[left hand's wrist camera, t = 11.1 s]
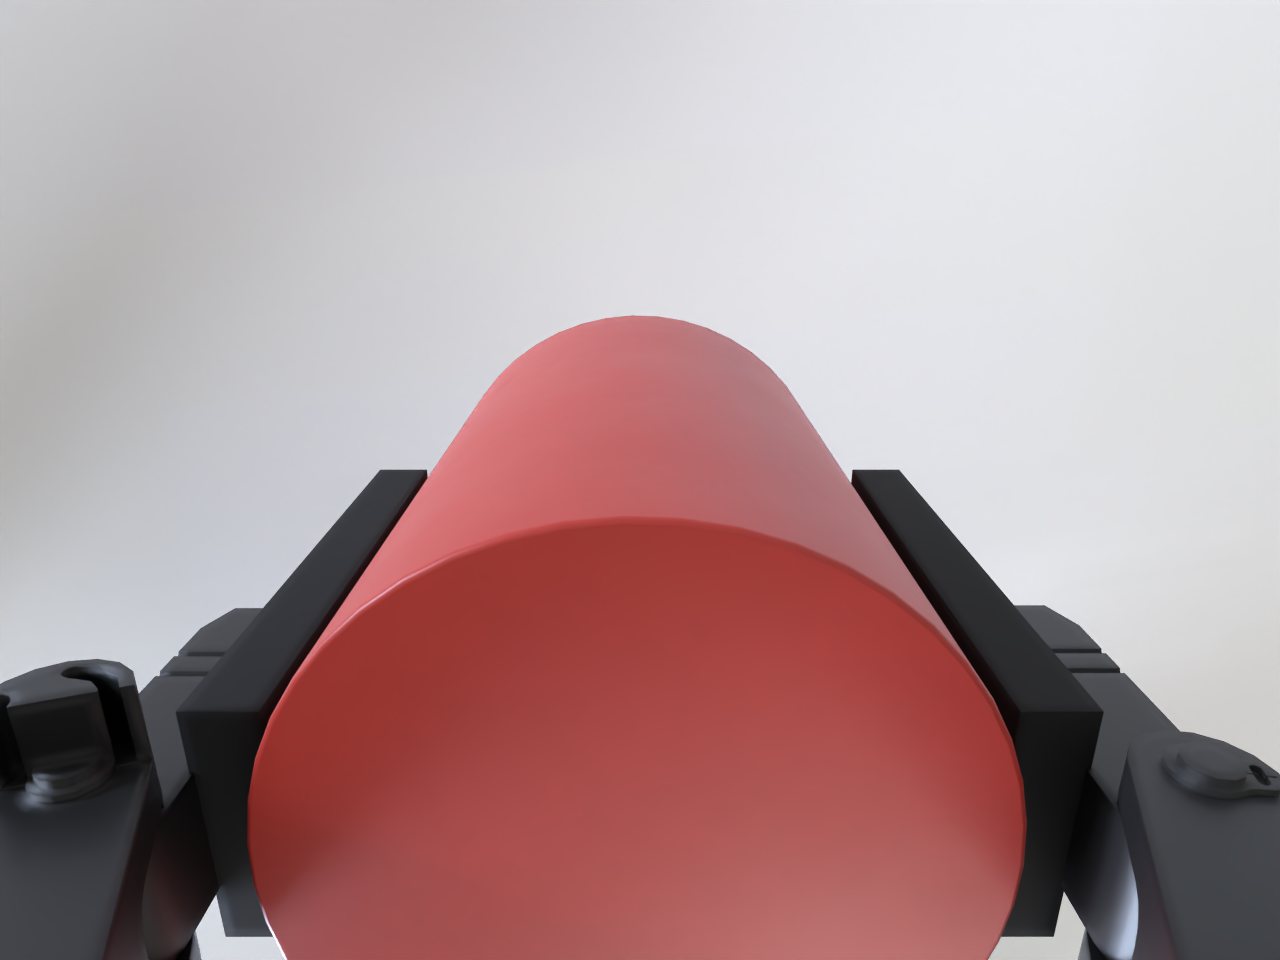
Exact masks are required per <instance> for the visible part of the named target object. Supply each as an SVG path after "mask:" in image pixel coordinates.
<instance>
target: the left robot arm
mask: <svg viewBox="0 0 1280 960" xmlns="http://www.w3.org/2000/svg"><path fill="white" fill-rule="evenodd" d="M427 478H428V477H427V470H380V471H379V472H378V473H377V475H376V476H375V477H374V478H373V479H372V480H371V482H370V483H369V484H368V485H367V486H366V487H365V489H364V490H363V491H362V492H361V493H360V495H359V496H358V497H357V498H356V499H355V500H354V502H353V503H352V504H351V505H350V506H349V508H348V509H347V510H346V511H345V512H344V513H343V515H342V516H341V517H340V518H339V519H338V520H337V522H336V523H335V524H334V525H333V526H332V528H331V529H330V530H329V531H328V532H327V533H326V535H325V536H324V537H323V538H322V539H321V541H320V542H319V543H318V544H317V545H316V546H315V548H314V549H313V550H312V551H311V552H310V554H309V555H308V556H307V557H306V558H305V559H304V561H303V562H302V563H301V564H300V565H299V566H298V568H297V569H296V570H295V571H294V572H293V574H292V575H291V576H290V577H289V578H288V579H287V581H286V582H285V583H284V584H283V585H282V587H281V588H280V589H279V590H278V591H277V592H276V594H275V595H274V596H273V597H272V598H271V599H270V601H269V602H268V603H267V604H266V605H265V607H264V608H235V609H233V610H232V611H230V612H228V613H227V614H225V615H223V616H221V617H220V618H218V619H216V620H214V621H213V622H211V623H209V624H208V625H206V626H204V627H202V628H201V629H200V630H199V631H198V632H197V633H196V634H195V635H194V636H193V637H192V638H191V639H190V640H189V641H188V642H187V643H186V645H185V646H184V647H183V648H182V649H181V650H180V651H179V655H178V656H174V657H173V658H172V659H171V660H170V661H169V663H168V664H167V665H166V666H165V667H164V668H163V669H162V670H161V671H160V676H155V677H154V678H153V679H152V681H151V682H150V683H149V684H148V685H147V686H146V687H145V688H144V689H143V690H142V691H141V692H140V693H139V694H138V690H137V686H136V681H135V677H134V673H133V671H132V670H130V669H129V668H127V667H126V666H124V665H123V664H121V663H120V662H114V661H107V660H100V659H92V660H79V661H68V662H64V663H59V664H55V665H51V666H47V667H43V668H39V669H35V670H33V671H30V672H28V673H25V674H23V675H20V676H18V677H15V678H13V679H10V680H8V681H5V682H3V683H1V684H0V960H201V955H200V948H199V944H198V940H197V936H196V932H195V930H196V928H197V926H198V925H199V923H200V921H201V919H202V918H203V916H204V914H205V913H206V911H207V909H208V907H209V906H210V904H211V902H212V901H213V899H214V897H215V895H217V900H218V904H219V908H220V913H221V917H222V922H223V926H224V931H225V935H226V937H273V935H272V933H271V931H270V929H269V927H268V925H267V923H266V921H265V918H264V914H263V911H262V908H261V905H260V902H259V899H258V896H257V893H256V890H255V887H254V884H253V878H252V871H251V865H250V859H249V852H248V846H247V815H248V795H249V790H250V784H251V779H252V773H253V768H254V762H255V757H256V755H257V752H258V749H259V746H260V744H261V741H262V738H263V735H264V733H265V730H266V727H267V724H268V722H269V719H270V717H271V715H272V713H273V711H274V710H275V708H276V706H277V704H278V702H279V701H280V699H281V697H282V695H283V694H284V692H285V690H286V688H287V687H288V685H289V683H290V681H291V679H292V678H293V676H294V675H295V673H296V672H297V670H298V669H299V667H300V666H301V664H302V663H303V661H304V660H305V659H306V657H307V656H308V654H309V653H310V651H311V650H312V648H313V647H314V645H315V644H316V642H317V641H318V639H319V638H320V636H321V635H322V633H323V632H324V630H325V629H326V628H327V626H328V625H329V623H330V622H331V620H332V619H333V617H334V616H335V614H336V613H337V611H338V610H339V608H340V607H341V605H342V604H343V602H344V601H345V599H346V598H347V597H348V595H349V594H350V592H351V591H352V589H353V588H354V586H355V585H356V583H357V582H358V580H359V579H360V577H361V576H362V574H363V573H364V571H365V570H366V568H367V567H368V566H369V564H370V563H371V561H372V560H373V558H374V557H375V555H376V554H377V552H378V551H379V549H380V548H381V546H382V545H383V543H384V542H385V540H386V539H387V537H388V536H389V535H390V533H391V532H392V530H393V529H394V527H395V526H396V524H397V523H398V521H399V520H400V518H401V517H402V515H403V514H404V512H405V511H406V509H407V508H408V506H409V505H410V503H411V502H412V501H413V499H414V498H415V496H416V495H417V493H418V492H419V490H420V489H421V487H422V486H423V484H424V483H425V481H426V480H427ZM851 484H852V486H853V487H854V489H855V490H856V492H857V493H858V495H859V496H860V498H861V499H862V501H863V502H864V504H865V505H866V507H867V508H868V510H869V511H870V513H871V515H872V516H873V518H874V519H875V521H876V522H877V524H878V525H879V527H880V528H881V530H882V531H883V533H884V534H885V536H886V537H887V539H888V540H889V542H890V543H891V545H892V546H893V548H894V549H895V551H896V552H897V554H898V555H899V557H900V558H901V560H902V561H903V563H904V564H905V566H906V567H907V569H908V570H909V572H910V573H911V575H912V576H913V578H914V579H915V581H916V582H917V584H918V586H919V587H920V589H921V590H922V592H923V593H924V595H925V596H926V598H927V599H928V601H929V602H930V604H931V605H932V607H933V608H934V610H935V611H936V613H937V614H938V616H939V617H940V619H941V620H942V622H943V623H944V625H945V626H946V628H947V629H948V631H949V632H950V634H951V635H952V637H953V638H954V640H955V641H956V643H957V644H958V646H959V647H960V649H961V650H962V652H963V653H964V655H965V657H966V658H967V660H968V661H969V663H970V664H971V666H972V667H973V669H974V670H975V672H976V673H977V675H978V676H979V678H980V679H981V681H982V682H983V684H984V685H985V687H986V688H987V690H988V691H989V693H990V694H991V696H992V697H993V699H994V701H995V703H996V705H997V707H998V710H999V712H1000V714H1001V716H1002V718H1003V721H1004V723H1005V725H1006V727H1007V729H1008V732H1009V734H1010V736H1011V738H1012V741H1013V745H1014V749H1015V752H1016V756H1017V760H1018V763H1019V767H1020V771H1021V775H1022V778H1023V785H1024V796H1025V807H1026V818H1027V830H1026V843H1025V856H1024V867H1023V871H1022V875H1021V879H1020V883H1019V887H1018V891H1017V895H1016V899H1015V903H1014V906H1013V909H1012V911H1011V913H1010V916H1009V918H1008V921H1007V923H1006V925H1005V928H1004V930H1003V933H1002V935H1001V937H1054V933H1055V928H1056V924H1057V919H1058V915H1059V910H1060V906H1061V901H1062V897H1063V892H1065V894H1066V895H1067V897H1068V899H1069V901H1070V902H1071V904H1072V906H1073V907H1074V909H1075V911H1076V913H1077V914H1078V916H1079V918H1080V919H1081V921H1082V923H1083V925H1084V926H1085V932H1084V936H1083V940H1082V944H1081V948H1080V953H1079V957H1078V960H1280V774H1279V773H1278V772H1276V771H1275V770H1274V769H1272V768H1271V767H1269V766H1268V765H1267V764H1265V763H1264V762H1262V761H1261V760H1260V759H1258V758H1257V757H1255V756H1254V755H1252V754H1250V753H1248V752H1245V751H1243V750H1241V749H1239V748H1237V747H1235V746H1232V745H1230V744H1228V743H1226V742H1224V741H1220V740H1217V739H1213V738H1210V737H1206V736H1203V735H1199V734H1195V733H1190V732H1180V731H1179V730H1178V729H1177V728H1176V727H1175V726H1174V724H1173V723H1172V722H1171V721H1170V720H1169V719H1168V718H1167V717H1166V716H1165V715H1164V714H1163V713H1162V712H1161V711H1160V710H1159V709H1158V708H1157V707H1156V706H1155V705H1154V703H1153V702H1152V701H1151V700H1150V699H1149V698H1148V697H1147V696H1146V695H1145V694H1144V693H1143V692H1142V691H1141V690H1140V689H1139V688H1138V687H1137V686H1136V685H1135V684H1134V682H1133V681H1132V680H1131V679H1130V678H1129V677H1128V676H1127V675H1126V674H1125V673H1120V668H1119V667H1118V666H1117V665H1116V664H1115V663H1114V661H1113V660H1112V659H1111V658H1110V657H1109V656H1108V655H1107V654H1106V653H1102V652H1101V648H1100V647H1099V646H1098V645H1097V644H1096V643H1095V642H1094V640H1093V639H1092V638H1091V637H1090V636H1089V635H1088V634H1087V633H1086V632H1085V631H1084V630H1083V629H1082V628H1081V627H1080V626H1079V625H1078V624H1076V623H1074V622H1072V621H1071V620H1069V619H1067V618H1065V617H1064V616H1062V615H1060V614H1058V613H1057V612H1055V611H1053V610H1051V609H1050V608H1048V607H1046V606H1014V605H1013V604H1012V603H1011V601H1010V600H1009V599H1008V598H1007V597H1006V595H1005V594H1004V593H1003V592H1002V591H1001V590H1000V588H999V587H998V586H997V585H996V584H995V583H994V581H993V580H992V579H991V578H990V577H989V575H988V574H987V573H986V572H985V571H984V570H983V568H982V567H981V566H980V565H979V564H978V562H977V561H976V560H975V559H974V558H973V557H972V555H971V554H970V553H969V552H968V551H967V549H966V548H965V547H964V546H963V545H962V544H961V542H960V541H959V540H958V539H957V538H956V537H955V535H954V534H953V533H952V532H951V531H950V529H949V528H948V527H947V526H946V525H945V524H944V522H943V521H942V520H941V519H940V518H939V516H938V515H937V514H936V513H935V512H934V511H933V509H932V508H931V507H930V506H929V505H928V503H927V502H926V501H925V500H924V499H923V498H922V496H921V495H920V494H919V493H918V492H917V491H916V489H915V488H914V487H913V486H912V485H911V483H910V482H909V481H908V480H907V479H906V478H905V476H904V475H903V474H902V473H901V472H900V470H853V471H852V482H851Z"/></svg>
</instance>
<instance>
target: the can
mask: <svg viewBox="0 0 1280 960" xmlns="http://www.w3.org/2000/svg"><path fill="white" fill-rule="evenodd" d="M1026 830H1027V818H1026V807H1025V796H1024V785H1023V778H1022V775H1021V771H1020V767H1019V763H1018V760H1017V756H1016V752H1015V749H1014V745H1013V741H1012V738H1011V736H1010V734H1009V732H1008V729H1007V727H1006V725H1005V723H1004V721H1003V718H1002V716H1001V714H1000V712H999V710H998V707H997V705H996V703H995V701H994V699H993V697H992V696H991V694H990V693H989V691H988V690H987V688H986V687H985V685H984V684H983V682H982V681H981V679H980V678H979V676H978V675H977V673H976V672H975V670H974V669H973V667H972V666H971V664H970V663H969V661H968V660H967V658H966V657H965V655H964V653H963V652H962V650H961V649H960V647H959V646H958V644H957V643H956V641H955V640H954V638H953V637H952V635H951V634H950V632H949V631H948V629H947V628H946V626H945V625H944V623H943V622H942V620H941V619H940V617H939V616H938V614H937V613H936V611H935V610H934V608H933V607H932V605H931V604H930V602H929V601H928V599H927V598H926V596H925V595H924V593H923V592H922V590H921V589H920V587H919V586H918V584H917V582H916V581H915V579H914V578H913V576H912V575H911V573H910V572H909V570H908V569H907V567H906V566H905V564H904V563H903V561H902V560H901V558H900V557H899V555H898V554H897V552H896V551H895V549H894V548H893V546H892V545H891V543H890V542H889V540H888V539H887V537H886V536H885V534H884V533H883V531H882V530H881V528H880V527H879V525H878V524H877V522H876V521H875V519H874V518H873V516H872V515H871V513H870V511H869V510H868V508H867V507H866V505H865V504H864V502H863V501H862V499H861V498H860V496H859V495H858V493H857V492H856V490H855V489H854V487H853V486H852V484H851V483H850V481H849V480H848V478H847V477H846V475H845V474H844V472H843V471H842V469H841V468H840V466H839V465H838V463H837V462H836V460H835V459H834V457H833V456H832V454H831V453H830V451H829V450H828V448H827V447H826V445H825V444H824V442H823V441H822V439H821V437H820V436H819V434H818V433H817V431H816V430H815V428H814V427H813V425H812V424H811V422H810V421H809V419H808V418H807V416H806V415H805V413H804V412H803V410H802V409H801V407H800V406H799V404H798V403H797V401H796V400H795V398H794V397H793V395H792V394H791V392H790V391H789V389H788V388H787V386H786V385H785V384H784V383H783V382H782V381H781V380H780V378H779V377H778V376H777V375H776V374H775V373H774V372H773V371H772V370H771V368H770V367H768V366H767V365H766V364H765V363H764V362H762V361H761V360H760V359H759V358H758V357H757V356H755V355H754V354H753V353H752V352H750V351H749V350H747V349H746V348H744V347H742V346H741V345H739V344H738V343H736V342H735V341H733V340H731V339H730V338H727V337H725V336H723V335H721V334H719V333H717V332H714V331H712V330H710V329H708V328H705V327H702V326H698V325H695V324H692V323H689V322H685V321H681V320H675V319H669V318H663V317H655V316H624V317H614V318H605V319H601V320H597V321H592V322H588V323H584V324H580V325H578V326H575V327H572V328H570V329H567V330H565V331H562V332H559V333H557V334H555V335H553V336H552V337H550V338H548V339H546V340H544V341H542V342H540V343H539V344H537V345H535V346H534V347H532V348H531V349H530V350H528V351H527V352H526V353H524V354H523V355H521V356H520V357H519V358H517V359H516V360H515V361H514V362H513V363H512V364H511V365H510V366H509V367H508V368H507V369H506V370H505V371H504V372H503V373H502V374H500V375H499V376H498V378H497V379H496V380H495V382H494V383H493V384H492V385H491V387H490V388H489V389H488V391H487V392H486V393H485V394H484V396H483V397H482V399H481V400H480V402H479V403H478V405H477V406H476V408H475V409H474V410H473V412H472V413H471V415H470V416H469V418H468V419H467V421H466V422H465V424H464V425H463V427H462V428H461V430H460V431H459V433H458V434H457V436H456V437H455V439H454V440H453V441H452V443H451V444H450V446H449V447H448V449H447V450H446V452H445V453H444V455H443V456H442V458H441V459H440V461H439V462H438V464H437V465H436V467H435V468H434V470H433V471H432V472H431V474H430V475H429V477H428V478H427V480H426V481H425V483H424V484H423V486H422V487H421V489H420V490H419V492H418V493H417V495H416V496H415V498H414V499H413V501H412V502H411V503H410V505H409V506H408V508H407V509H406V511H405V512H404V514H403V515H402V517H401V518H400V520H399V521H398V523H397V524H396V526H395V527H394V529H393V530H392V532H391V533H390V535H389V536H388V537H387V539H386V540H385V542H384V543H383V545H382V546H381V548H380V549H379V551H378V552H377V554H376V555H375V557H374V558H373V560H372V561H371V563H370V564H369V566H368V567H367V568H366V570H365V571H364V573H363V574H362V576H361V577H360V579H359V580H358V582H357V583H356V585H355V586H354V588H353V589H352V591H351V592H350V594H349V595H348V597H347V598H346V599H345V601H344V602H343V604H342V605H341V607H340V608H339V610H338V611H337V613H336V614H335V616H334V617H333V619H332V620H331V622H330V623H329V625H328V626H327V628H326V629H325V630H324V632H323V633H322V635H321V636H320V638H319V639H318V641H317V642H316V644H315V645H314V647H313V648H312V650H311V651H310V653H309V654H308V656H307V657H306V659H305V660H304V661H303V663H302V664H301V666H300V667H299V669H298V670H297V672H296V673H295V675H294V676H293V678H292V679H291V681H290V683H289V685H288V687H287V688H286V690H285V692H284V694H283V695H282V697H281V699H280V701H279V702H278V704H277V706H276V708H275V710H274V711H273V713H272V715H271V717H270V719H269V722H268V724H267V727H266V730H265V733H264V735H263V738H262V741H261V744H260V746H259V749H258V752H257V755H256V757H255V762H254V768H253V773H252V779H251V784H250V790H249V795H248V815H247V846H248V852H249V859H250V865H251V871H252V878H253V884H254V887H255V890H256V893H257V896H258V899H259V902H260V905H261V908H262V911H263V914H264V918H265V921H266V923H267V925H268V927H269V929H270V931H271V933H272V935H273V937H274V939H275V941H276V943H277V945H278V947H279V949H280V951H281V953H282V955H283V957H284V958H285V960H988V958H989V957H990V955H991V953H992V952H993V950H994V948H995V947H996V945H997V943H998V942H999V940H1000V937H1001V935H1002V933H1003V930H1004V928H1005V925H1006V923H1007V921H1008V918H1009V916H1010V913H1011V911H1012V909H1013V906H1014V903H1015V899H1016V895H1017V891H1018V887H1019V883H1020V879H1021V875H1022V871H1023V867H1024V856H1025V843H1026Z"/></svg>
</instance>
